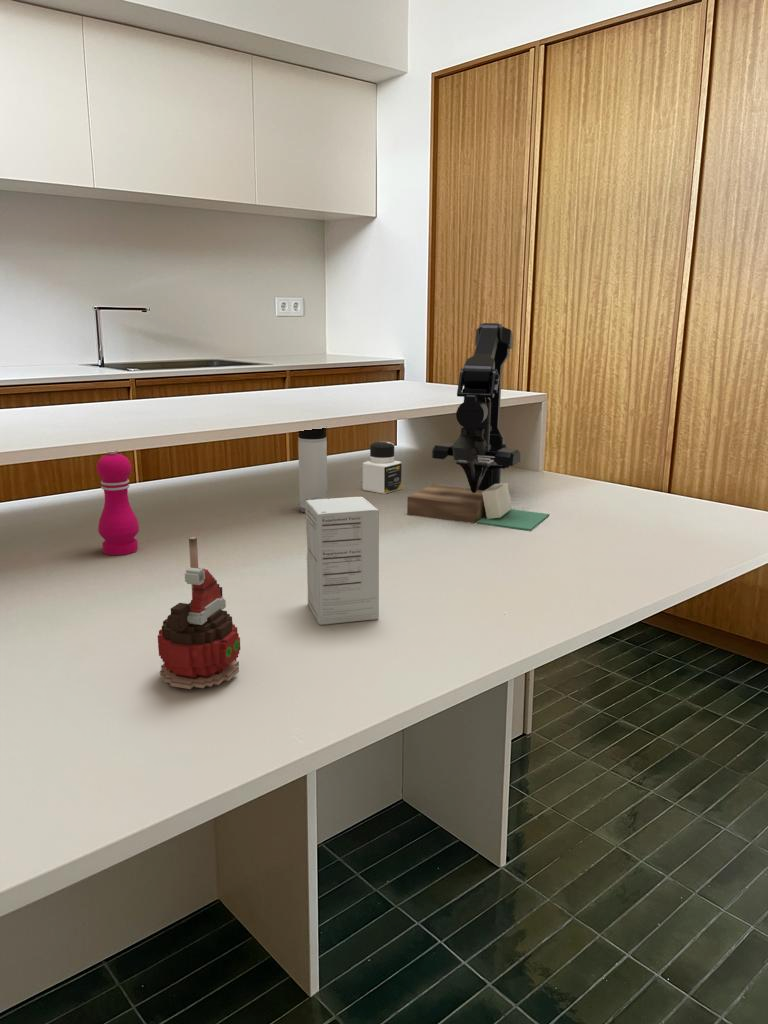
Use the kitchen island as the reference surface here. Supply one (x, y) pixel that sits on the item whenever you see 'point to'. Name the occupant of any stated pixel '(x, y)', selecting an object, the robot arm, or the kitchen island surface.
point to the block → (497, 500)
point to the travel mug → (312, 466)
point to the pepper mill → (117, 506)
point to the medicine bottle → (382, 469)
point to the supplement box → (342, 559)
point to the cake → (199, 634)
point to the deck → (447, 503)
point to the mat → (516, 520)
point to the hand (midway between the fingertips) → (474, 492)
